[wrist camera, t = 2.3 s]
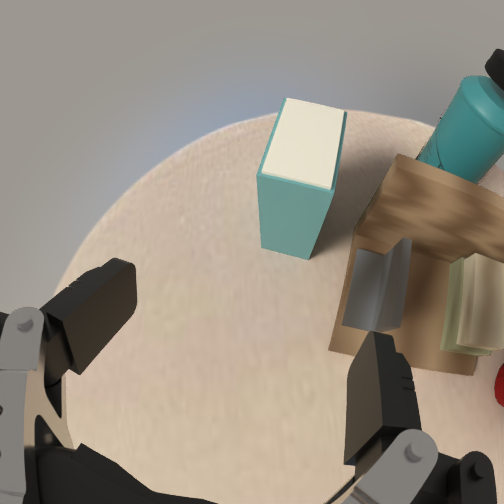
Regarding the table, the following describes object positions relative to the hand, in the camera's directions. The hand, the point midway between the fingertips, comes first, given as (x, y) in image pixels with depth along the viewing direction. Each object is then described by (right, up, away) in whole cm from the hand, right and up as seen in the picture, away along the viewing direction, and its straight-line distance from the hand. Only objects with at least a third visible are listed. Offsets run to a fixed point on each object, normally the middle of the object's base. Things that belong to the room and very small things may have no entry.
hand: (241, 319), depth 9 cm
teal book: (+4, +5, +19) cm, 21 cm away
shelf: (+16, -3, +16) cm, 23 cm away
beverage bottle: (+19, +8, +20) cm, 29 cm away
